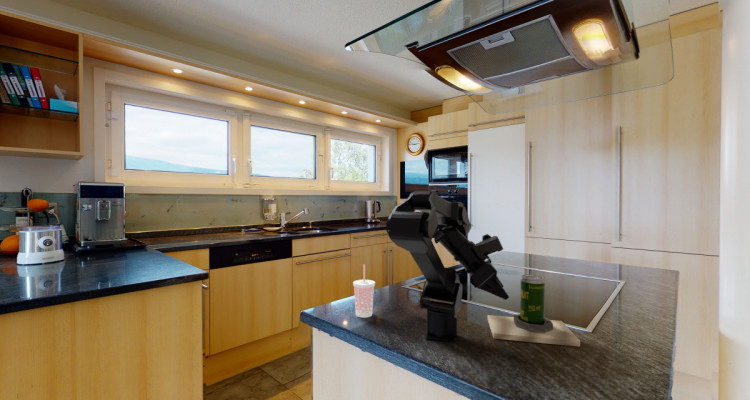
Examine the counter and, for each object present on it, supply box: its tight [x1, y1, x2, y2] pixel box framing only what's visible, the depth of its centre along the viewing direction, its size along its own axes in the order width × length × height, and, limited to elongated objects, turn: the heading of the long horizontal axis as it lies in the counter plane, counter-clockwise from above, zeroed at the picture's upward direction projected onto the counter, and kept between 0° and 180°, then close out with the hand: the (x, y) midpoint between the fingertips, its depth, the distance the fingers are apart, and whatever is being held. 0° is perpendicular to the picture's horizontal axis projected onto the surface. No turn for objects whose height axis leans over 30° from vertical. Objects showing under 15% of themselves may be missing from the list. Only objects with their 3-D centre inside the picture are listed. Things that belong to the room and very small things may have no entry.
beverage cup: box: [352, 263, 376, 319], centre depth 90 cm, size 6×6×14 cm
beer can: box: [519, 274, 546, 325], centre depth 80 cm, size 5×5×12 cm
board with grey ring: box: [487, 313, 581, 347], centre depth 79 cm, size 18×12×3 cm, turn 77°
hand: (504, 292), depth 81 cm, fingers open, 9 cm apart
